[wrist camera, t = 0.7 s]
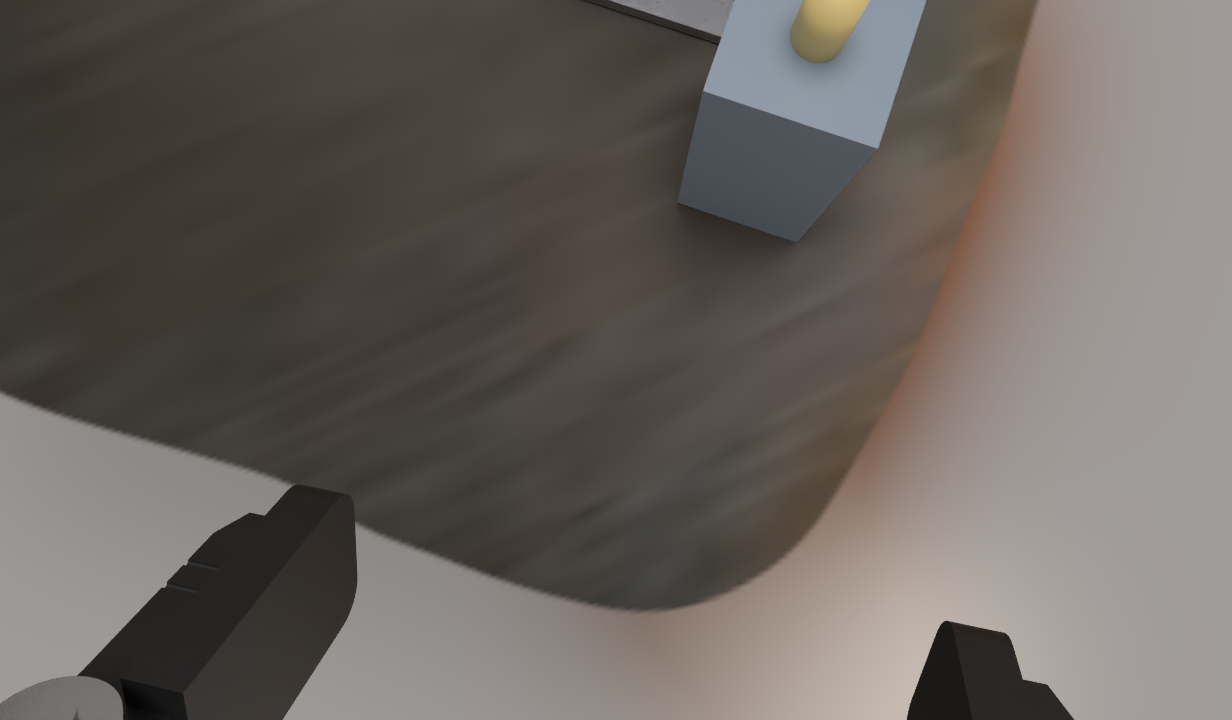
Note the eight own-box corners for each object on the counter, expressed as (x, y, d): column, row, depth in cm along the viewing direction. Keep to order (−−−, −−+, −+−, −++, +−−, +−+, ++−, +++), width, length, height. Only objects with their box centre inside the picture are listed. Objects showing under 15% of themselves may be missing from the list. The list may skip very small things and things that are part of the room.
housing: (676, 202, 32) (712, 47, 20) (716, 87, 32) (776, -135, 20) (796, 242, 32) (909, 111, 19) (835, 126, 32) (969, -74, 20)
